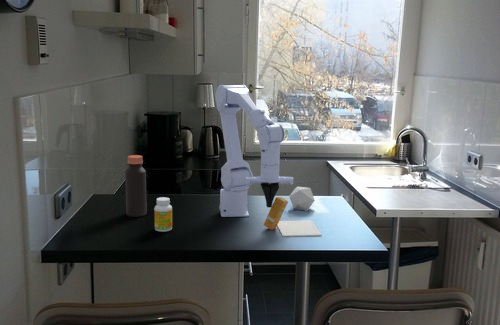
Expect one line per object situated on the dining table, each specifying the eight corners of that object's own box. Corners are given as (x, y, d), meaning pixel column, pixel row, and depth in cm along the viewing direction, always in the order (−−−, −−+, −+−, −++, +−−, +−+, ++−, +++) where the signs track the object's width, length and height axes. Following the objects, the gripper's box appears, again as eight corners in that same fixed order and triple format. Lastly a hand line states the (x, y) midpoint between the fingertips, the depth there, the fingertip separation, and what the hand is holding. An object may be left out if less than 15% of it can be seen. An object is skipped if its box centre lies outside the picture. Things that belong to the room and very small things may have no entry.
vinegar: (132, 218, 164) (130, 159, 160) (122, 213, 169) (120, 156, 165) (150, 214, 168) (149, 156, 164) (140, 210, 173) (139, 153, 169)
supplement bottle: (157, 232, 151) (157, 202, 149) (152, 227, 155) (152, 197, 153) (174, 230, 153) (174, 200, 151) (169, 225, 158) (168, 195, 156)
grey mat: (282, 236, 149) (282, 235, 149) (275, 222, 163) (275, 220, 163) (321, 235, 151) (321, 234, 151) (311, 221, 164) (311, 220, 164)
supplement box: (271, 230, 154) (284, 201, 152) (263, 225, 155) (275, 196, 153) (276, 229, 156) (288, 200, 154) (268, 224, 158) (279, 195, 156)
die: (317, 209, 181) (307, 185, 184) (318, 203, 173) (307, 179, 176) (296, 217, 181) (286, 193, 184) (296, 212, 172) (286, 187, 176)
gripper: (247, 166, 147) (247, 210, 150) (296, 166, 149) (294, 209, 151) (245, 161, 154) (244, 204, 157) (291, 161, 155) (290, 203, 158)
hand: (269, 206), depth 154 cm, fingers closed
